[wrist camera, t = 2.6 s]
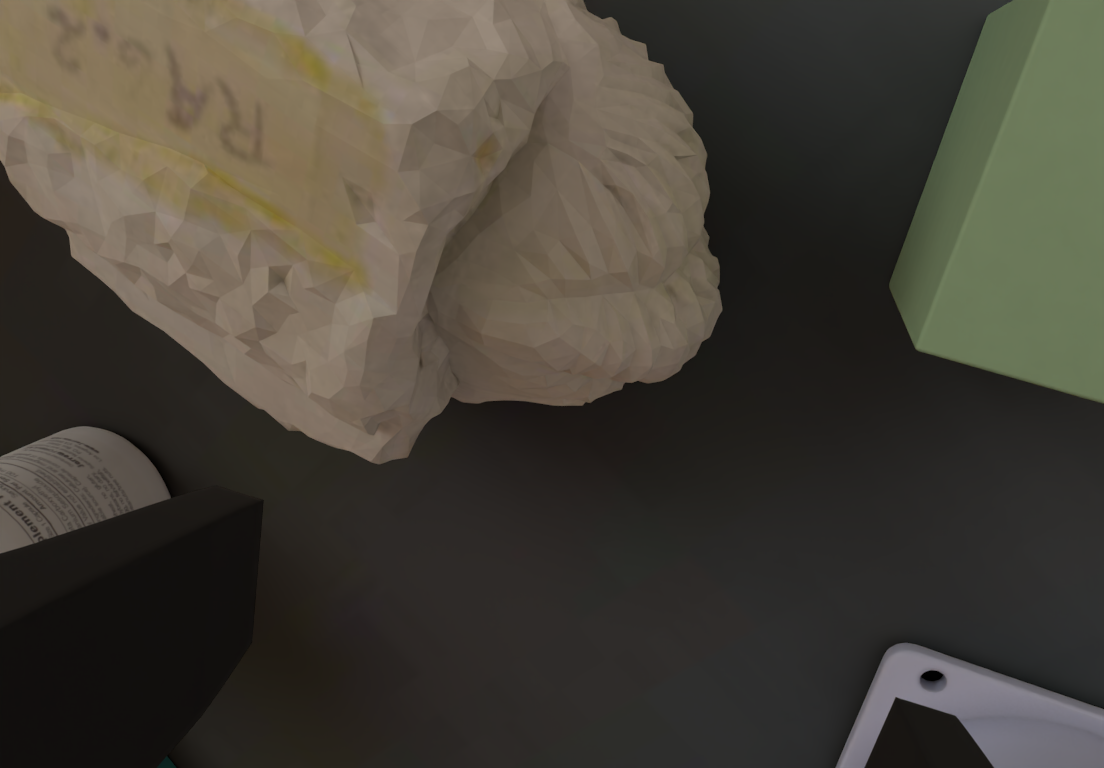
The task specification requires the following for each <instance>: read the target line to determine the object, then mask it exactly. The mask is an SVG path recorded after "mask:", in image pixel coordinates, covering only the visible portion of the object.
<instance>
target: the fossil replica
mask: <svg viewBox="0 0 1104 768" xmlns="http://www.w3.org/2000/svg"><path fill="white" fill-rule="evenodd" d="M706 159H707V153H706V150H705V148H704V145H703V142H702V140H701V138H700V137H699V135H698V134H697V133H696V131H695V130H694V129H693V113H692V111H691V110H690V108H689V107H688V105H687V104H686V102H685V101H684V99H683V98H682V96H681V95H680V93H679V92H678V91H677V90H675V89H673V87H672V85H671V83H670V81H669V79H668V78H667V76H666V74H665V71H664V65H663V64H659V63H656V62H652V61H649V60H648V54H647V48H646V44H644V43H640V42H637V41H634V40H630V39H628V38H627V37H625V36H623V35H621V33H620V30H619V26H618V23H617V21H616V20H614V19H613V18H612V17H609V18H605V19H601V18H599V17H597V16H595V15H593V14H591V13H590V12H588V11H587V9H586V6H585V4H584V1H583V0H0V160H1V162H2V163H3V165H4V166H5V169H6V172H7V175H8V177H9V180H10V182H11V183H12V184H13V185H14V187H15V188H16V189H17V190H18V192H19V193H20V194H21V195H22V196H23V198H24V199H25V200H26V201H27V203H28V204H29V205H30V207H31V208H32V209H33V211H35V212H36V213H37V214H39V215H40V216H41V217H43V218H44V219H46V220H48V221H50V222H52V223H54V224H57V225H59V226H61V227H63V228H65V230H66V232H67V234H68V236H69V239H70V249H71V256H72V257H73V258H74V259H76V260H77V261H78V262H79V263H81V264H82V265H83V266H84V267H86V268H87V269H88V270H89V271H91V272H92V273H93V274H94V275H96V276H97V277H98V278H99V279H100V280H101V281H103V282H104V283H105V284H106V285H107V286H108V287H110V288H111V289H112V290H113V291H114V292H115V293H116V294H117V295H118V296H119V297H120V298H121V299H122V300H123V301H124V303H125V304H126V305H127V306H128V307H129V308H130V309H131V310H132V311H133V312H135V313H136V314H138V315H139V316H141V317H143V318H144V319H146V320H147V321H149V322H150V323H152V324H154V325H155V326H157V327H158V328H160V329H161V330H163V331H164V332H166V333H167V334H168V335H169V336H171V337H172V338H173V339H174V340H176V341H177V342H178V343H179V344H181V345H182V346H183V347H184V348H186V349H187V350H188V351H189V352H191V353H192V354H193V355H194V356H196V357H197V358H198V359H199V360H200V361H202V362H203V363H204V364H205V365H206V366H207V367H208V368H209V369H210V370H211V371H212V372H213V373H214V374H215V375H216V376H217V377H218V378H219V379H220V380H221V381H222V382H223V383H225V384H226V385H227V386H229V387H230V388H231V389H233V390H234V391H236V392H237V393H238V394H240V395H241V396H242V397H244V398H245V399H246V400H248V401H249V402H250V403H251V404H253V405H254V406H255V407H257V408H258V409H264V410H265V411H266V412H268V413H269V414H270V415H271V416H272V417H273V418H274V419H276V420H277V421H278V422H279V423H280V424H281V425H283V426H284V427H285V428H286V429H287V430H289V431H302V432H303V433H305V434H306V435H307V436H308V437H310V438H313V439H315V440H318V441H320V442H322V443H325V444H327V445H329V446H332V447H334V448H339V449H343V450H347V451H351V452H353V453H355V454H357V455H359V456H361V457H362V458H364V459H366V460H368V461H370V462H373V463H376V464H382V463H385V462H387V461H390V460H394V459H401V458H407V457H408V455H409V453H410V451H411V449H412V447H413V445H414V443H415V441H416V439H417V437H418V435H419V433H420V432H421V430H422V429H423V427H424V425H425V424H426V423H427V422H428V421H429V420H430V419H431V418H433V417H435V416H437V415H438V414H440V413H441V412H442V411H443V410H444V408H445V407H446V406H447V404H448V403H449V400H450V398H451V397H453V398H455V399H457V400H459V401H461V402H465V403H482V402H485V401H501V400H514V401H528V402H534V403H541V404H547V405H553V406H582V405H583V404H584V403H585V402H588V403H591V402H592V401H594V400H595V399H597V398H599V397H602V396H604V395H607V394H609V393H612V392H614V391H618V390H622V388H623V385H624V383H625V382H627V383H633V382H636V381H641V382H644V383H654V382H659V381H664V380H665V379H667V378H669V377H670V376H672V375H674V374H675V373H677V372H678V371H680V370H681V368H682V366H683V364H684V363H685V362H687V361H688V360H690V359H691V358H692V357H694V356H695V355H696V353H697V351H698V349H699V347H700V345H701V343H702V341H704V340H706V339H707V338H709V337H710V336H711V333H712V331H713V328H714V326H715V323H716V321H717V319H718V317H719V315H720V313H721V312H722V310H723V309H722V304H721V298H720V293H719V290H718V289H717V287H718V285H719V283H720V266H719V263H718V259H717V258H716V257H714V256H712V254H711V253H710V251H709V249H708V242H709V236H708V234H707V232H706V230H705V228H704V226H703V225H704V212H705V209H706V207H707V204H708V201H709V196H710V189H709V183H708V177H707V173H706V171H705V164H706Z"/></svg>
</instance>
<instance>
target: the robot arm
mask: <svg viewBox="0 0 1104 768" xmlns="http://www.w3.org/2000/svg"><path fill="white" fill-rule="evenodd" d="M263 501H264V500H261V499H258V498H255V497H252V496H248V495H245V494H242V493H239V492H236V491H232V490H229V489H226V488H223V487H220V486H212V487H208V488H204V489H200V490H196V491H193V492H189V493H186V494H183V495H180V496H176V497H173V498H170V499H167V500H164V501H161V502H158V503H155V504H152V505H149V506H145V507H142V508H139V509H136V510H133V511H130V512H127V513H125V514H122V515H119V516H116V517H113V518H110V519H107V520H104V521H100V522H97V523H94V524H91V525H88V526H85V527H82V528H79V529H76V530H73V531H70V532H67V533H64V534H61V535H58V536H55V537H52V538H49V539H46V540H43V541H40V542H37V543H34V544H30V545H27V546H24V547H21V548H17V549H14V550H10V551H7V552H4V553H0V768H157V767H158V766H159V764H160V763H161V762H162V761H163V760H164V759H165V758H166V757H167V755H168V754H169V753H170V752H171V751H172V750H173V749H174V747H175V746H176V745H177V744H178V743H179V742H180V741H181V739H182V738H183V737H184V736H185V735H186V734H187V733H188V731H189V730H190V729H191V728H192V727H193V726H194V724H195V723H196V722H197V721H198V720H199V719H200V717H201V716H202V715H203V713H204V712H205V711H206V709H207V708H208V706H209V705H210V704H211V702H212V701H213V699H214V698H215V696H216V695H217V694H218V692H219V691H220V689H221V688H222V687H223V685H224V684H225V682H226V681H227V679H228V678H229V676H230V675H231V673H232V672H233V670H234V669H235V667H236V666H237V664H238V663H239V661H240V660H241V658H242V657H243V655H244V654H245V652H246V651H247V649H248V647H249V646H250V644H251V643H252V636H253V623H254V611H255V599H256V586H257V574H258V562H259V550H260V537H261V525H262V513H263ZM930 670H934V671H939V672H940V673H942V674H944V675H943V676H942V678H941V679H939V680H936V681H926V680H925V679H923V678H921V677H920V676H921V675H922V674H923V673H924V672H927V671H930ZM835 768H1104V709H1102V708H1099V707H1096V706H1093V705H1090V704H1087V703H1084V702H1081V701H1078V700H1076V699H1073V698H1070V697H1067V696H1064V695H1061V694H1058V693H1055V692H1052V691H1050V690H1047V689H1044V688H1041V687H1038V686H1035V685H1032V684H1029V683H1026V682H1023V681H1021V680H1018V679H1015V678H1012V677H1009V676H1006V675H1003V674H1000V673H997V672H995V671H992V670H989V669H986V668H983V667H980V666H977V665H974V664H971V663H969V662H966V661H963V660H960V659H957V658H954V657H951V656H948V655H945V654H942V653H940V652H937V651H934V650H931V649H928V648H925V647H922V646H919V645H916V644H911V643H900V644H896V645H894V646H892V647H890V648H889V649H888V650H887V651H886V653H885V654H884V655H883V658H882V660H881V662H880V665H879V667H878V669H877V672H876V674H875V676H874V679H873V681H872V683H871V686H870V688H869V690H868V693H867V695H866V697H865V700H864V702H863V704H862V707H861V709H860V711H859V714H858V716H857V718H856V721H855V723H854V725H853V728H852V730H851V732H850V735H849V737H848V739H847V742H846V744H845V746H844V749H843V751H842V753H841V756H840V758H839V760H838V762H837V765H836V767H835Z"/></svg>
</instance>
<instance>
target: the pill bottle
mask: <svg viewBox="0 0 1104 768" xmlns="http://www.w3.org/2000/svg"><path fill="white" fill-rule="evenodd" d="M170 498H171V497H170V494H169V492H168V489H167V487H166V485H165V483H164V481H163V479H162V477H161V476H160V474H159V472H158V471H157V469H156V468H155V466H154V465H153V464H152V462H151V461H150V460H149V459H148V458H147V456H145V455H144V454H143V453H142V452H141V451H140V450H139V449H138V448H137V447H135V446H134V445H133V444H132V443H130V442H129V441H128V440H126V439H125V438H123V437H121V436H119V435H117V434H115V433H113V432H110V431H108V430H104V429H100V428H95V427H88V426H81V427H74V428H70V429H66V430H63V431H60V432H58V433H56V434H53V435H51V436H48V437H46V438H43V439H41V440H38V441H36V442H34V443H31V444H29V445H27V446H24V447H22V448H20V449H17V450H15V451H13V452H10V453H8V454H6V455H3V456H1V457H0V553H4V552H7V551H10V550H14V549H17V548H21V547H24V546H27V545H30V544H34V543H37V542H40V541H43V540H46V539H49V538H52V537H55V536H58V535H61V534H64V533H67V532H70V531H73V530H76V529H79V528H82V527H85V526H88V525H91V524H94V523H97V522H100V521H104V520H107V519H110V518H113V517H116V516H119V515H122V514H125V513H127V512H130V511H133V510H136V509H139V508H142V507H145V506H149V505H152V504H155V503H158V502H161V501H164V500H167V499H170Z"/></svg>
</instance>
